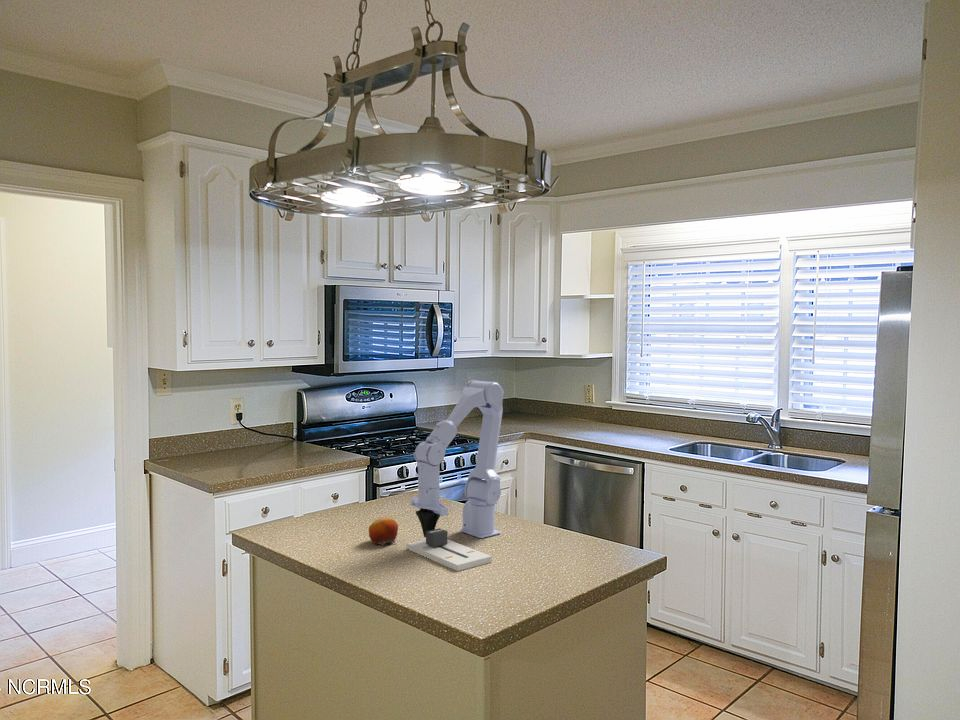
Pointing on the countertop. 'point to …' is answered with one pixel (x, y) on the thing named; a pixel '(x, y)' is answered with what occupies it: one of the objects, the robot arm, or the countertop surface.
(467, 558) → the fader console
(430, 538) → the fader knob
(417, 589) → the countertop surface
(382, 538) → the fruit
